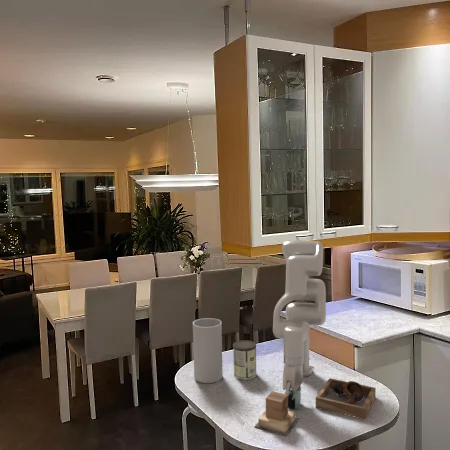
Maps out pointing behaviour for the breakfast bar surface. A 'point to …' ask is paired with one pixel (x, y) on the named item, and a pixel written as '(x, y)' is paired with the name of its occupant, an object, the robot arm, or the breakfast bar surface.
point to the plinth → (277, 423)
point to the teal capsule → (296, 398)
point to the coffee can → (244, 359)
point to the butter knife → (236, 416)
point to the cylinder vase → (207, 350)
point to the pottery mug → (349, 391)
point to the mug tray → (341, 406)
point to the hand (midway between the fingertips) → (293, 403)
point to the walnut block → (276, 406)
